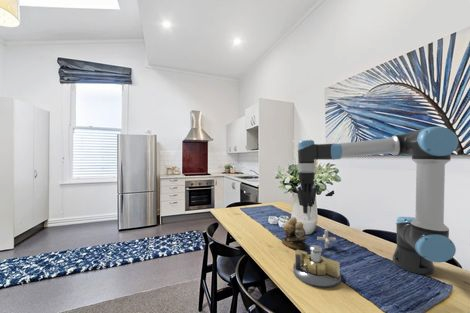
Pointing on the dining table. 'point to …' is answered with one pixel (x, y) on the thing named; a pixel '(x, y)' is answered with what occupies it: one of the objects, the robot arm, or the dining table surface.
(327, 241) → the pipe connector
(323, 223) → the dining table surface
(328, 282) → the spigot plate
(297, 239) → the owl figurine
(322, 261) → the beige segmented block
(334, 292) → the dining table surface
